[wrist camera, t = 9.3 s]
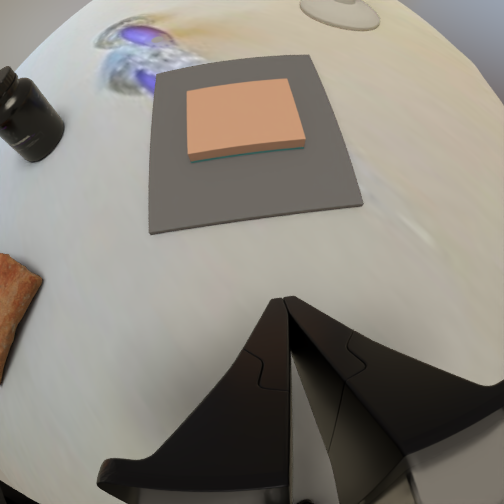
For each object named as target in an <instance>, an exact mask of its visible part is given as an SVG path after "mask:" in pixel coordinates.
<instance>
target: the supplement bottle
mask: <svg viewBox="0 0 504 504" xmlns="http://www.w3.org/2000/svg"><path fill="white" fill-rule="evenodd" d="M63 128H64V125H63V121H62V119H61V118H60V116H59V115H58V114H57V112H56V111H55V110H54V108H53V107H52V106H51V105H50V103H49V102H48V101H47V99H46V98H45V97H44V96H43V94H42V93H41V92H40V90H39V89H38V88H37V86H36V85H35V84H34V82H33V81H32V80H31V79H29V78H20V79H18V76H17V74H16V73H14V71H13V70H12V69H11V68H10V67H9V66H6V67H4V68H2V69H1V70H0V137H1V138H2V139H3V140H4V141H6V142H7V143H8V144H9V145H10V146H11V147H12V148H13V149H14V150H15V151H16V152H18V153H19V154H20V155H21V156H22V157H23V158H24V159H26V160H27V161H38V160H40V159H42V158H44V157H45V156H46V155H48V154H49V153H50V152H51V151H52V150H53V149H54V147H55V146H56V145H57V143H58V142H59V140H60V138H61V136H62V133H63Z"/></svg>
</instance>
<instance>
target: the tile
mask: <svg viewBox="0 0 504 504" xmlns="http://www.w3.org/2000/svg"><path fill="white" fill-rule="evenodd" d="M305 140H306V138H305V135H304V131H303V128H302V124H301V121H300V118H299V114H298V111H297V108H296V105H295V101H294V98H293V95H292V92H291V89H290V86H289V83H288V80H287V79H272V80H261V81H251V82H242V83H234V84H227V85H220V86H213V87H207V88H201V89H196V90H191V91H187V148H188V156H189V159H190V161H191V163H196V162H202V161H208V160H215V159H221V158H228V157H235V156H242V155H249V154H257V153H266V152H275V151H284V150H295V149H304V145H305Z"/></svg>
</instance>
